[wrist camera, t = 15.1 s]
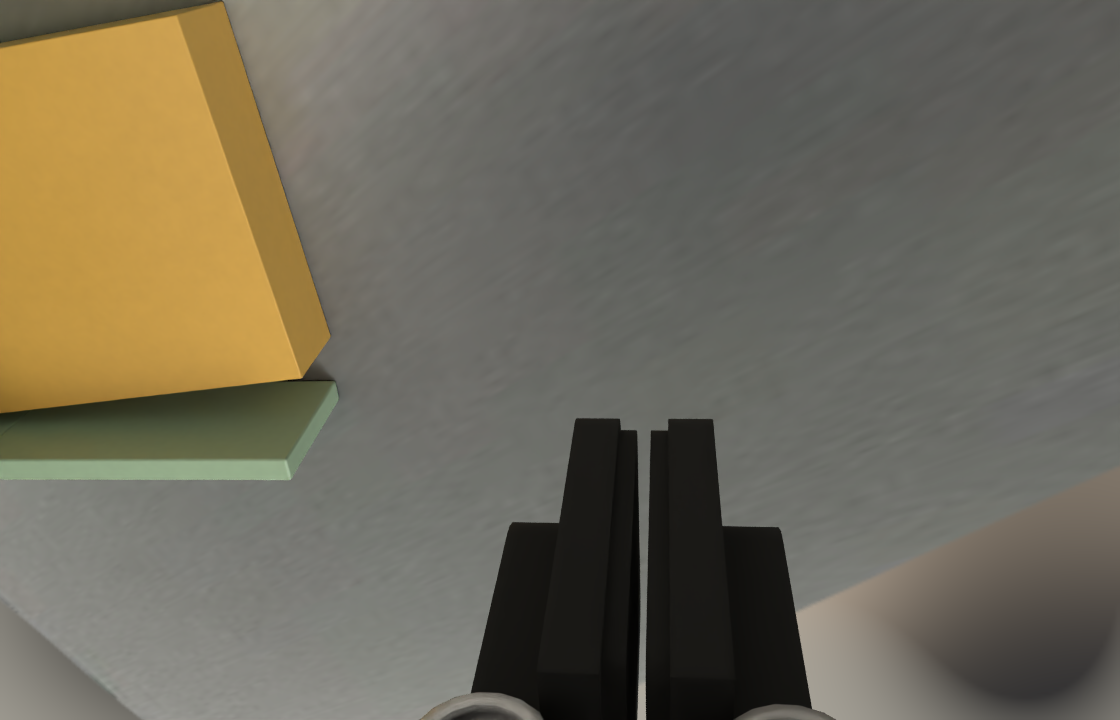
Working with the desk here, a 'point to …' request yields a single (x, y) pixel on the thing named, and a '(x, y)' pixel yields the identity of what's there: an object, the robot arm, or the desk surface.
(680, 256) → the desk surface
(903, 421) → the desk surface
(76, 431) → the green block
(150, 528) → the desk surface
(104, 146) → the orange flat block
